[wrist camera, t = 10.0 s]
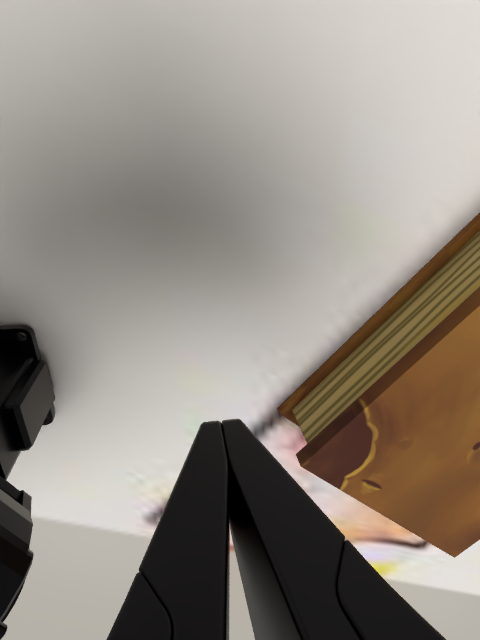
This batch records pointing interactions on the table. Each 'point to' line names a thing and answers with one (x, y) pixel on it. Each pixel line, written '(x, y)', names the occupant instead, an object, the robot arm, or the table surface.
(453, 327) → the diary
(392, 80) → the table surface
